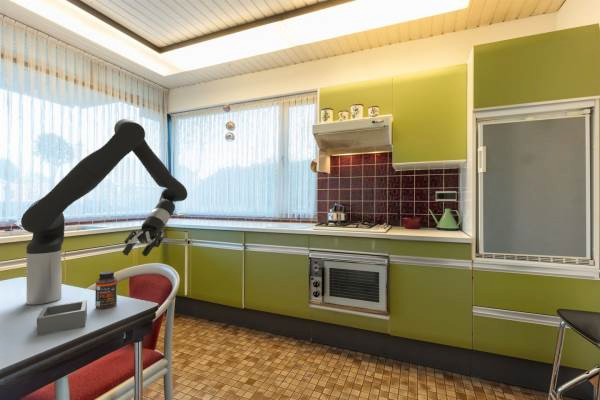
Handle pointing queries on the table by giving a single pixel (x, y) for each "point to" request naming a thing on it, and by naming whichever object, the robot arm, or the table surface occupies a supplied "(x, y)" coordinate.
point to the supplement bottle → (106, 290)
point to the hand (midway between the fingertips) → (134, 254)
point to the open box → (62, 317)
